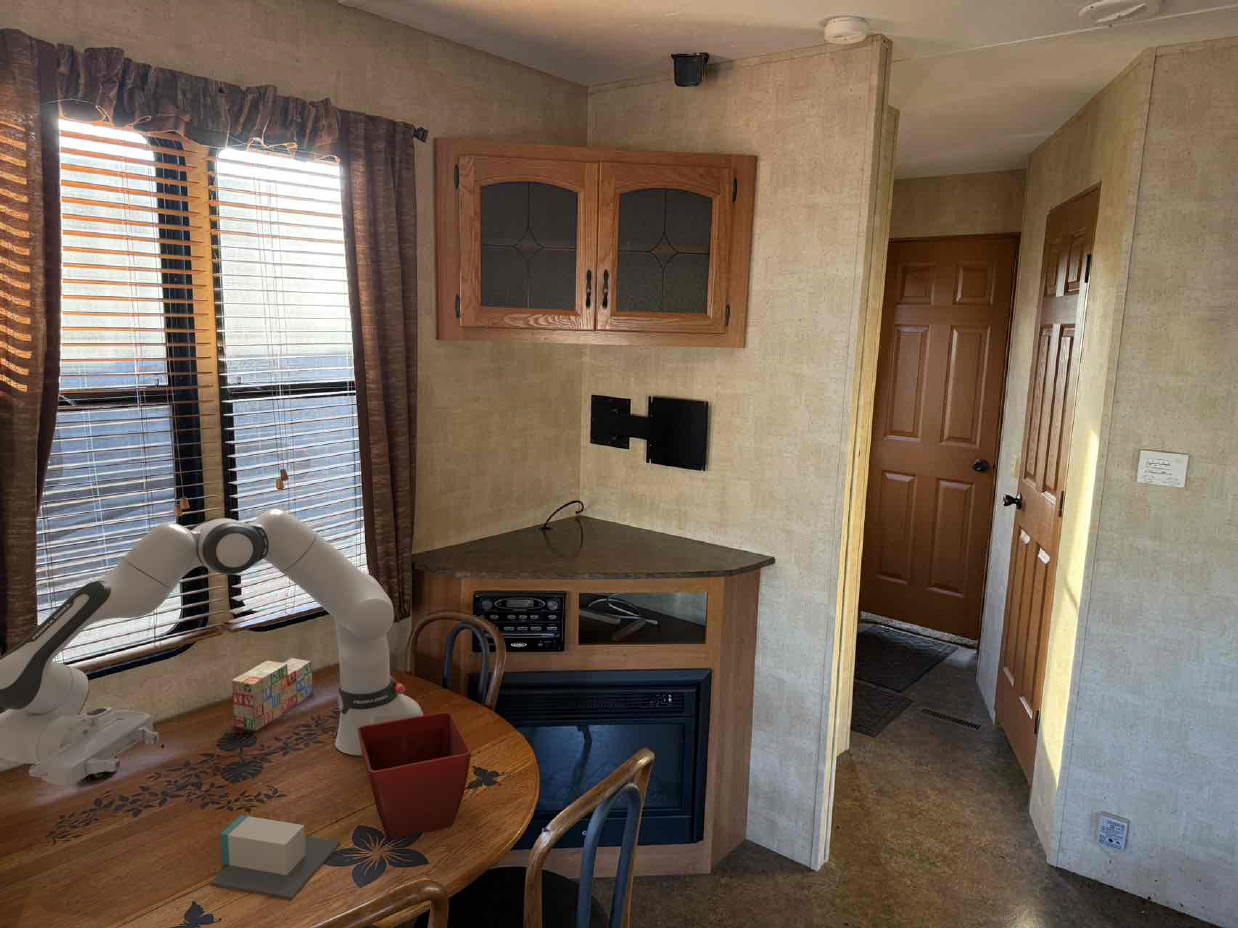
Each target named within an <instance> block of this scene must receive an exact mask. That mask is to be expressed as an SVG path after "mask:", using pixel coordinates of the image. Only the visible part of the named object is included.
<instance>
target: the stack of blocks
mask: <svg viewBox="0 0 1238 928" xmlns="http://www.w3.org/2000/svg"><path fill="white" fill-rule="evenodd" d="M231 688H232V694H231V695H232V704H233V714H234V715H233V716H234V717H233V718H234V719H233V720H234V727H235V728H239V729H244V730H249V731H253V732H256V731H258V730H259V729H261V728H263V727H264V726H266V725H268V724H270V723H271V722H272V721H275V719H278V718H279V717H280V716H282V715H283V714H284V713H287V711H288V710H290V709H292V708H294V707H295V706H296V705H298V704H300V703H302V701H304V700H306V699H308V698H309V697H310V696H312V695H313V694H314V692H313V690H314V687H313V672H312V661H311V660H305V659H299V658H294V657H293V658H292V657H291V658H289V659H288V660H286V661H284V662H277V661H271V660H266V661H264V662H262V663H260V664H258V665H257V666H255V667H253V668H252V669H250V670H248V671H246V672H244V673H242V674H241V675H239V676H237V677H235V678H233V679H231Z"/></svg>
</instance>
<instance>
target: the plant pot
mask: <svg viewBox="0 0 1238 928" xmlns="http://www.w3.org/2000/svg"><path fill="white" fill-rule="evenodd" d="M358 735H359V740H360V745H361V750H362V755H361V756H362V757H363V762H364V763H363V764H364V765H365V770H366V775H367V778H368V780H369V785H370V787H371V788H370V789H371V791H372V796H373V799H374V804H375V807H376V810H377V815H378V817H379V820H380V823H381V826H382V828H383V831H384V834H385V837H386V838H387V840H391V841H392V840H397V839H402V838H406V837H410V836H414V835H415V836H417V835H420V834H423V833H428V832H433V831H437V830H443V829H446V828H451V827H452V826H453V825H454V823H455V820H456V818H457V815H458V812H459V810H460V806H461V803H462V800H463V797H464V793H465V790H466V786H467V782H468V776H469V770H470V764H471V756H472V749H471V747H470V746H469V744H468V742H467V740H466V738H465V737H464V734H463V733H462V731H461V729H460V727H459V725H458V723H457V721H456V717H454V714H453V713H452V712H450V711H443V712H436V713H430V714H423V716H417V717H411V718H405V719H400V720H394V721H389V722H383V723H377V724H371V725H366V726H361V727H359V728H358Z"/></svg>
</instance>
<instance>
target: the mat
mask: <svg viewBox="0 0 1238 928" xmlns="http://www.w3.org/2000/svg"><path fill="white" fill-rule="evenodd" d="M340 845H341V841H338V840H337V841H336V840H330V839H326V838H318V837H313V836H306V835H305V850H306V855H305V856H304V857H303V858H302V859H301V860H300V861H299V863H298V864H297V865H296V866H295V867H294V868H293V869H292V870H291V871H290V872H289V873H288V874H287V875H283V874H277V873H271V872H266V871H260V870H254V869H249V868H243V867H237V866H232V865H226V866H225V867H224V868H223V869H222V870H221V871H220V872H219V873H218V874H217V875H216V876H215V877H214V878H213V879H211V880H210V881H209V885H210V886H213V887H218V888H219V887H220V888H225V889H231V890H236V891H242V892H249V893H253V894H257V895H258V894H259V895H263V896H264V895H265V896H269V897H275V898H279V899H280V898H281V899H285V900H286V899H287V900H290V901H291V900H293V899H294V898H295V896H297V894H298V893H299V892H300V891H301V890H302V889H303V888H304V886H305V885H307V883H308V882H309V881H310V880H311V878H312V877H313V876H314V875H315V874H316V873H317V872H318V870H319V869H320V868H321V867H322V866H323V865H324V864H325V862H327V860H328V859H329V858H330V857H331V856H332V854H333V853H334V852H335V851H336V850H337V849H338V848H339V847H340Z"/></svg>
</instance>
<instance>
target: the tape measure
mask: <svg viewBox="0 0 1238 928" xmlns="http://www.w3.org/2000/svg"><path fill="white" fill-rule="evenodd" d="M114 758H118V755H117V756H116V757H114ZM116 771H117V769H116V770H115V771H113V772H110V771H104V772H99V773H94V774H89V775H87V776H86V777H84V778H83V779H81V780H82V781H85V782H86V783H88V782H91V781H93V780H99V779H104V778H107V777H109V776H110V775H112V774H114V773H115V772H116Z"/></svg>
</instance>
